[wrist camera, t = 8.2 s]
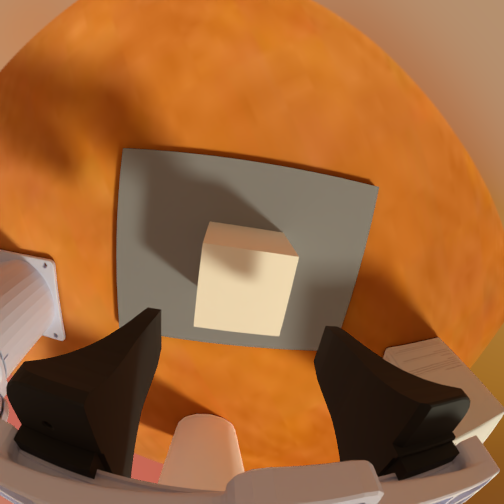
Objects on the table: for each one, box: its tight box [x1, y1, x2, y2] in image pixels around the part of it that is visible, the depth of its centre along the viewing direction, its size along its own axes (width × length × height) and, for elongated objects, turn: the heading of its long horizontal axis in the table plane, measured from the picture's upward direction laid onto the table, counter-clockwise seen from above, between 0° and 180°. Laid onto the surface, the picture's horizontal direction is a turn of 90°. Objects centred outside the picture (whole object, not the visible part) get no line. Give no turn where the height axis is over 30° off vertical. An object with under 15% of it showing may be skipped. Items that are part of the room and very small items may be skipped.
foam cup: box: [158, 414, 244, 491], centre depth 21 cm, size 10×9×13 cm
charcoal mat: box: [116, 148, 379, 351], centre depth 21 cm, size 18×14×1 cm
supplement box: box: [383, 337, 504, 446], centre depth 20 cm, size 7×7×13 cm
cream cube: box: [194, 221, 299, 336], centre depth 18 cm, size 5×5×5 cm
